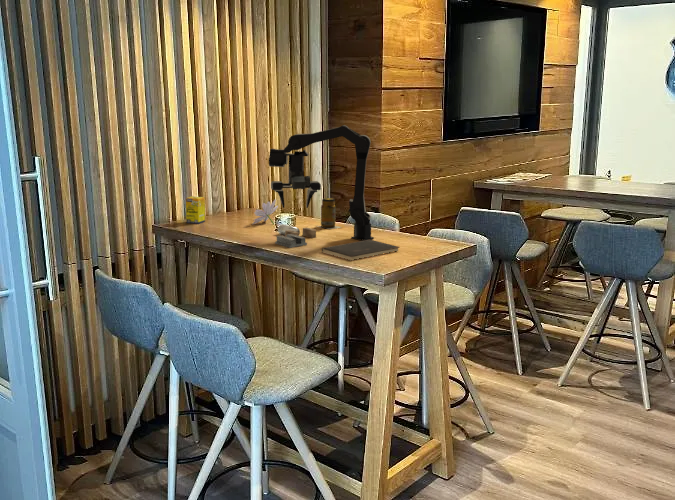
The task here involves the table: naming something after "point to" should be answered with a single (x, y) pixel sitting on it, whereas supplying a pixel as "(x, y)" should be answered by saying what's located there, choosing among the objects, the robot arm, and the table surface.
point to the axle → (283, 228)
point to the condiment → (328, 214)
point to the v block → (290, 241)
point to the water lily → (265, 212)
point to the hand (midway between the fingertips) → (295, 207)
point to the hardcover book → (359, 249)
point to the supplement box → (195, 210)
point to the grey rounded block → (306, 232)
